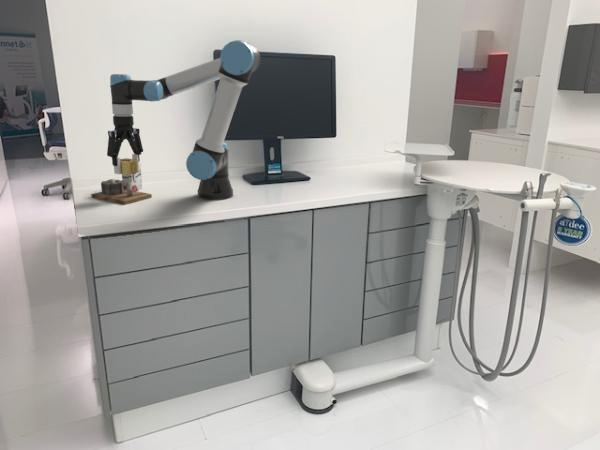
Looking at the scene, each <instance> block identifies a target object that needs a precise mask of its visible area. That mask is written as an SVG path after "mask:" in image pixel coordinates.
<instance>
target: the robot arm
mask: <svg viewBox="0 0 600 450" xmlns="http://www.w3.org/2000/svg"><path fill="white" fill-rule="evenodd" d="M260 62H261V55H260V52H259V50H258V48H257V47H256V46H255V45H254V44H252V43H250V42H245V41H244V40H239V39H238V40H233V41H229V42H228V43H227V44H225V45H224V46H223V48H222V49H221V51H220V56H219V58H217V59H213V60H210V61H208V62H205V63H202V64H199V65H197V66H193V67H191V68H188V69H185V70H182V71H179V72H177V73H174V74H170V75H168V76H165V77H162V78H159V79H157V80H155V79H153V80H138V79H137V80H135V79H132V78H131V75H130V74H127V73H126V74H125V73H123V74H122V73H121V74H120V73H113V74H110V78H109V80H110V82H109V87H110V94H111V95H110V96H111V108H112V114H113V116H112V121H113V123H112V124H113V125H114V129H113V130H108V131H107V135H108V139H107V140H108V142H107V143H108V144H107V151H106V152H107V154H106V156H107V157H110V158H111V161H112V166H113V170H114V171H113V172H114V174H115V175H122V174H121V171H120V159H121V158H120V157H118V156H119V154H120V150H121V147H122V144H123V143H124V141H125V140H127V142H128V144H129V146H130V148H131V150H132V152H133V154H132V156H131V157H132V158H131V159H136V160H138V171H139V163H140V155H142V153H143V152H144V148H143V143H142V141H141V139H142V138H141V136H140V133H141V131H140V128H135V127H133V126H134V123H135V122H134V116H133V115H134V109H133V108H134V107H133V101H142V102H143V101H145V102H159V101H161V100H165V99H167V98H169V97H172V96H174V95H177V94H179V93H183V92H186V91H189V90H192V89H194V88H197V87H201V86H204V85H206V84H209V83H212V82H215V81H218V80H219V83H218V84H217V85H218V86H217V88H216V91H215V94H214V97H213V101H212V103H211V107H210V110H209V114H208V116H207V119H206V122H205V125H204V129H203V131H202V134H201V136H200V138H198V139H197V140H195V143H194V146H193V149H192V152H190V153H189V154H188V156H187V157H186V163H185V165H186V169H187V171H188V173H189V174H190V175H191V176H192V177H193V179H197V180H200V181H199V184H198V189H197V197H198V198H201V199H205V200H224V199H229V198H232V197H233V196H234V189H233V187H232V184H231V181H230V177H229V175H230V174H229V173H230V172H229V147H228V144H227V142H225V139H226V136H227V133H228V130H229V128H230V124H231V121H232V119H233V115H234V112H235V110H236V107H237V104H238V101H239V98H240V95H241V93H242V90H243V88H244V87H245V86H247V85H249V81H250V78H251V77H252V73H255V71H257V69H258V68H259V67H260Z"/></svg>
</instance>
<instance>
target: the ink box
mask: <svg viewBox="0 0 600 450" xmlns="http://www.w3.org/2000/svg"><path fill="white" fill-rule="evenodd" d="M142 177H143V176H142V165H141V162H139V171H138V173H136V174H128V175H124V174H121V178H122V179H121V181H124V189H126V182H132V190H133V191H140V190H141V189H143V182H142V181H143V178H142Z"/></svg>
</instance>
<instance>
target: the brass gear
mask: <svg viewBox="0 0 600 450" xmlns="http://www.w3.org/2000/svg"><path fill="white" fill-rule="evenodd" d="M120 171H121V174H120V175H122V174H124V175H128V174H136V173H138V160H136V159H132V158H129V157H127V158H120Z"/></svg>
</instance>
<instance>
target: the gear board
mask: <svg viewBox="0 0 600 450" xmlns="http://www.w3.org/2000/svg"><path fill="white" fill-rule="evenodd" d="M100 187H101V191H99V192H94V193H91V194H90V195H91V198H92V199H95V200H96V199H97V200H101V201H105V202H111V203H116V204H120V205H129V204H133V203H137V202H140V201H145V200H148V199H151V198H152V195H153V194H152V193H148V192H141V191H139V190H137V191H133V190H132V182H126V189H124V181H122V180H120V179H115V178H110V179H107V180H103V181H101V183H100Z"/></svg>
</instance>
